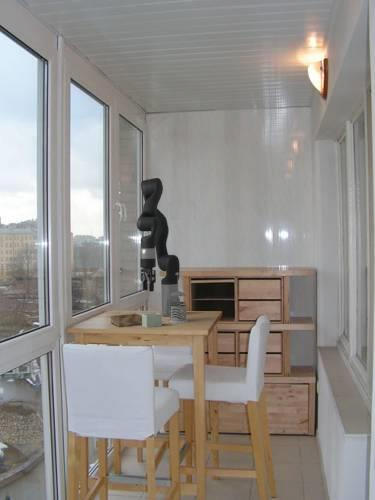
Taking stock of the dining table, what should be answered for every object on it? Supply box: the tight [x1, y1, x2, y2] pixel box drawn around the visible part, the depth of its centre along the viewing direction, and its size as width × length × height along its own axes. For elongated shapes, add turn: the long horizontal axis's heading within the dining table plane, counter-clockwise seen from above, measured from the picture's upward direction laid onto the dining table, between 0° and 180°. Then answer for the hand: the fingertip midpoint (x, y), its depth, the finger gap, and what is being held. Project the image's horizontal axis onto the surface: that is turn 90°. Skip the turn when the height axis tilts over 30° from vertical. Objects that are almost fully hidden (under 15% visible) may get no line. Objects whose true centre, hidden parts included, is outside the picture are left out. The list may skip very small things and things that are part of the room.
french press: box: [165, 272, 189, 324], centre depth 278 cm, size 10×12×25 cm
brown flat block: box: [110, 313, 142, 328], centre depth 274 cm, size 13×12×4 cm
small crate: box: [141, 312, 163, 329], centre depth 266 cm, size 8×6×6 cm
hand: (148, 290), depth 268 cm, fingers open, 8 cm apart
